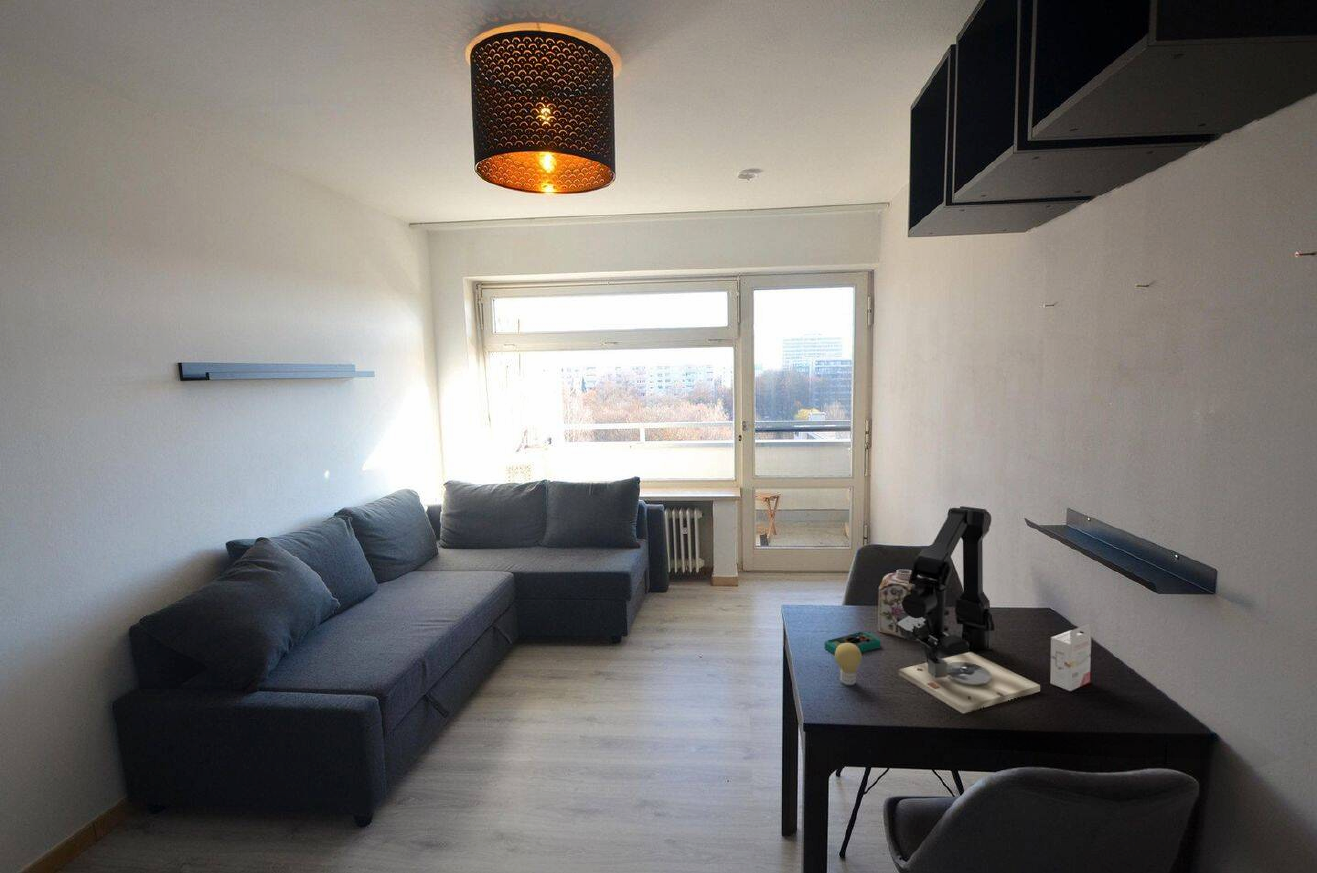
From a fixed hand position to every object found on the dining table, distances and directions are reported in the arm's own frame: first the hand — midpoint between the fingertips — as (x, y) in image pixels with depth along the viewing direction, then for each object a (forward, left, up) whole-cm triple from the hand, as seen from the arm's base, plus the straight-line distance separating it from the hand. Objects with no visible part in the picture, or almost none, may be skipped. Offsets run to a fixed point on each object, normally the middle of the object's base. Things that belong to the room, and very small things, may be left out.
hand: (930, 664), depth 156 cm
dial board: (-7, +4, -4) cm, 10 cm away
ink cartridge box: (-29, +14, -4) cm, 33 cm away
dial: (-5, +4, -2) cm, 7 cm away
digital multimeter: (+5, -23, -5) cm, 24 cm away
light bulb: (+19, -8, -4) cm, 21 cm away
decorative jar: (-16, -27, -4) cm, 31 cm away
